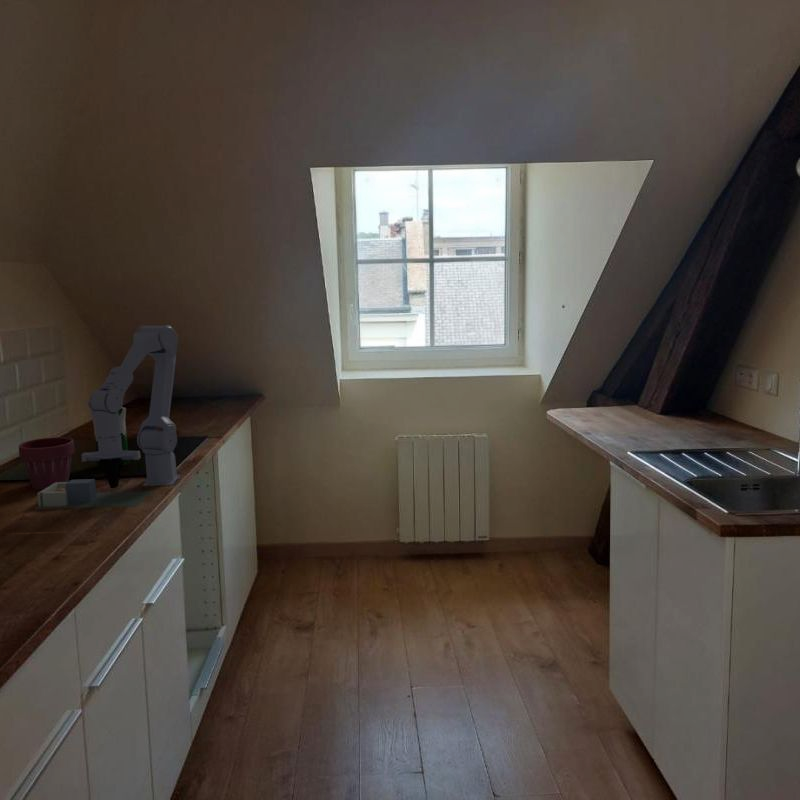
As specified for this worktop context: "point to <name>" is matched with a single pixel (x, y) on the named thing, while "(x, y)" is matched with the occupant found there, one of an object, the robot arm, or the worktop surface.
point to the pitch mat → (108, 500)
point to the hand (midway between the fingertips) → (114, 487)
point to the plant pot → (47, 460)
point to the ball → (60, 489)
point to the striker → (81, 490)
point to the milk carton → (122, 429)
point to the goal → (53, 495)
